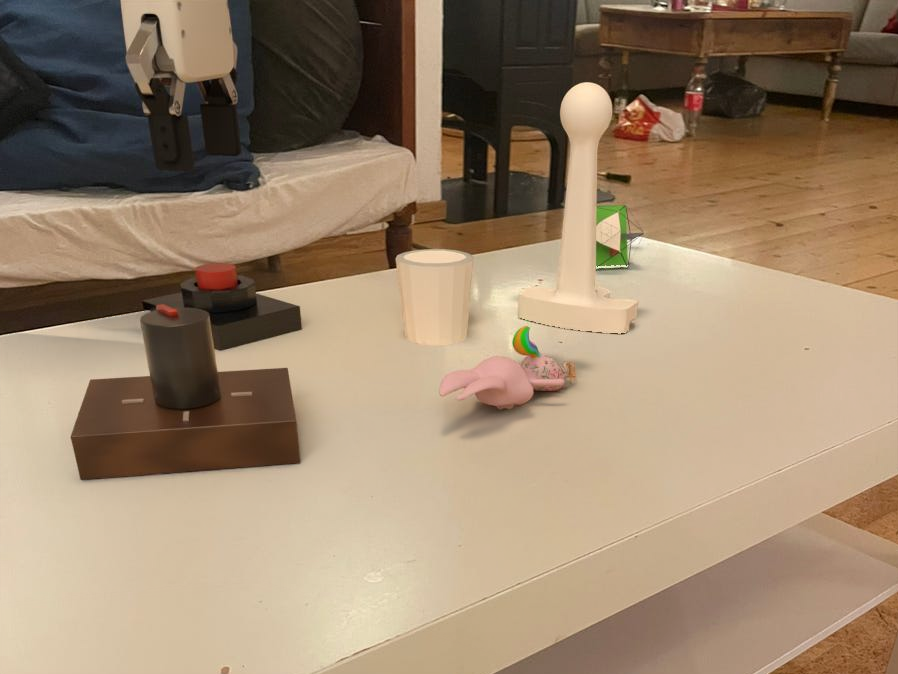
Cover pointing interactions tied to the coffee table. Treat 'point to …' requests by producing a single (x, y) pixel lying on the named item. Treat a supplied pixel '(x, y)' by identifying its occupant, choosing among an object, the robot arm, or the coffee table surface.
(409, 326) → the shot glass
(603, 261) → the geometric puzzle
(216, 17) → the robot arm
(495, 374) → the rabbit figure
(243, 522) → the coffee table surface
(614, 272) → the coffee table surface
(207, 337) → the dial
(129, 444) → the panel
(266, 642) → the coffee table surface
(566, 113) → the joystick
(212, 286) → the button
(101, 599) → the coffee table surface
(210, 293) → the button box
